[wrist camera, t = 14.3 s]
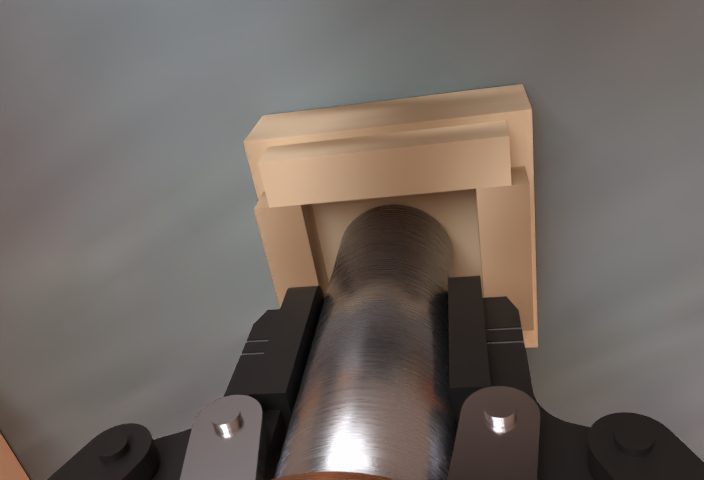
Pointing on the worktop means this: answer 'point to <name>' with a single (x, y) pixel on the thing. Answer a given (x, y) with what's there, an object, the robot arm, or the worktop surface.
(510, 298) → the pin block
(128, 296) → the worktop surface
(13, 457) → the soap dispenser
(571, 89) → the worktop surface
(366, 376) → the pin
